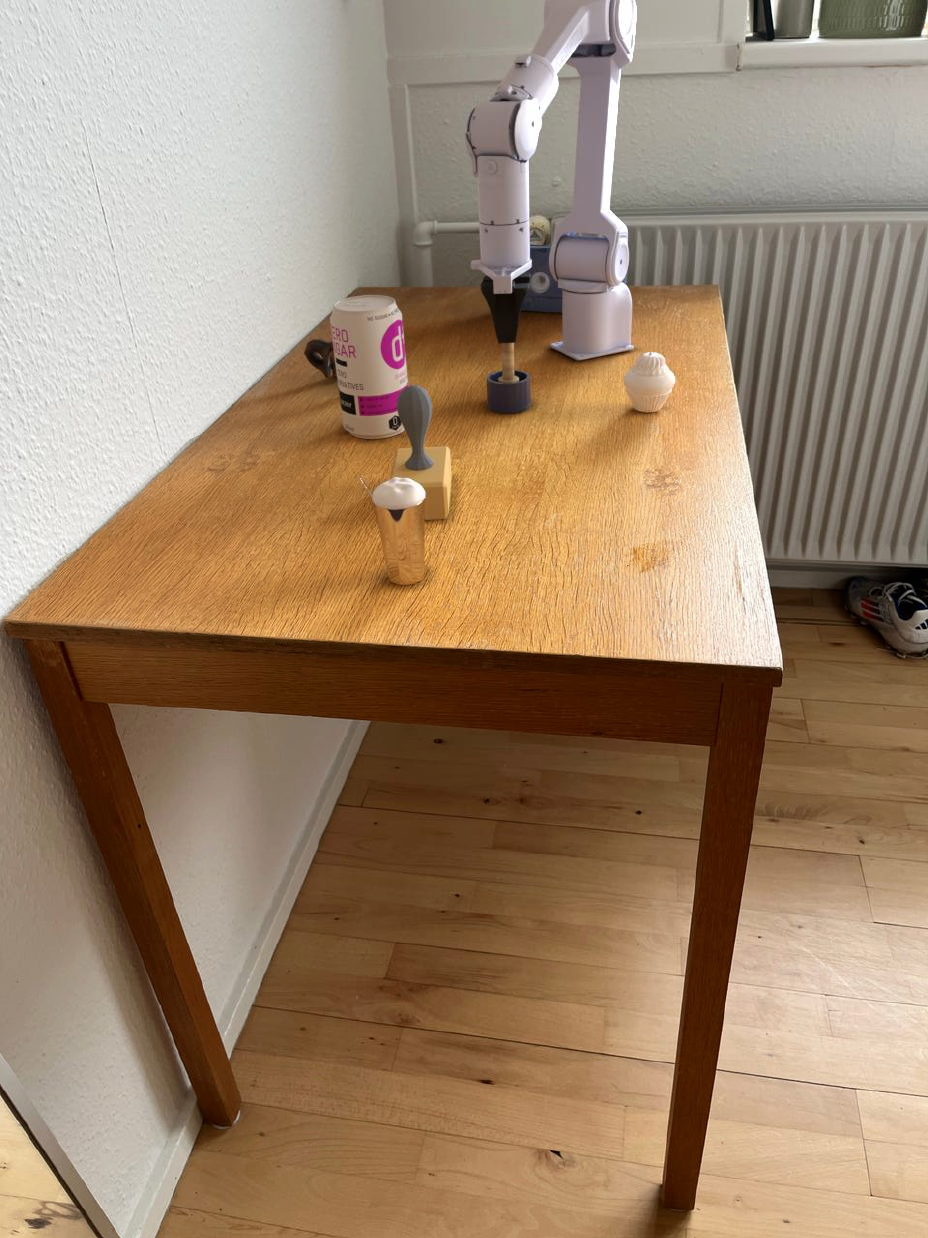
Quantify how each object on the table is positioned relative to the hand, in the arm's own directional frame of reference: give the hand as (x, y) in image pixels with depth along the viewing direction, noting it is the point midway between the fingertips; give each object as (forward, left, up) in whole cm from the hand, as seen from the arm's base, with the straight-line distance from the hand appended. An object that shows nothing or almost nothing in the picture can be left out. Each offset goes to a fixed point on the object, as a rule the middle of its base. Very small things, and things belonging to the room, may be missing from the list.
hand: (507, 339), depth 116 cm
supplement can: (+17, -2, -9) cm, 19 cm away
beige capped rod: (0, 0, -6) cm, 6 cm away
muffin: (-14, +10, -9) cm, 19 cm away
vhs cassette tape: (-28, -33, -9) cm, 45 cm away
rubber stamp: (+20, +19, -9) cm, 29 cm away
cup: (0, 0, -8) cm, 8 cm away
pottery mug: (+14, -20, -9) cm, 26 cm away
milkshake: (+28, +33, -9) cm, 44 cm away
